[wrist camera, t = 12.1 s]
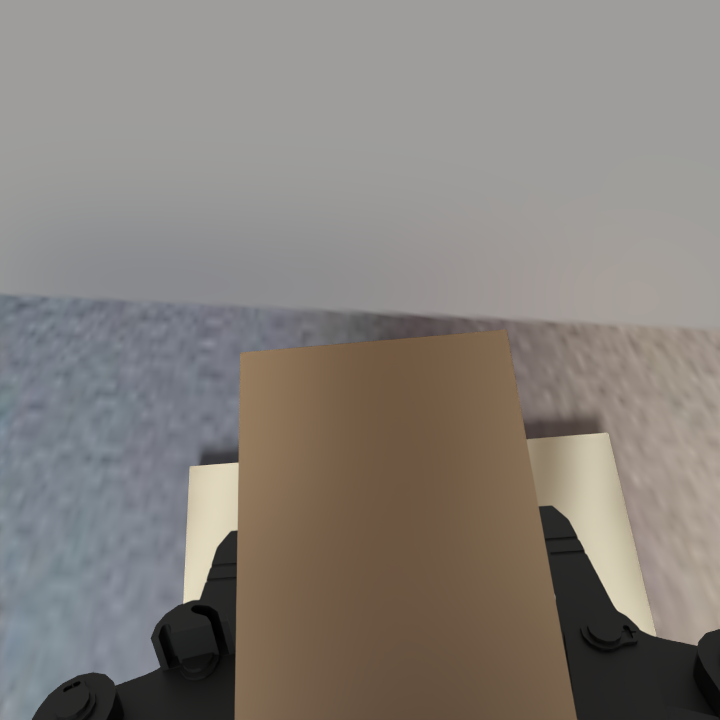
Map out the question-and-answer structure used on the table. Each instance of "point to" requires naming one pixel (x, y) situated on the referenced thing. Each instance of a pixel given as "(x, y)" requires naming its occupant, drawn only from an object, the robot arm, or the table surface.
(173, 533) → the table surface
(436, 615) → the brown rectangular block
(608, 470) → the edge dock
